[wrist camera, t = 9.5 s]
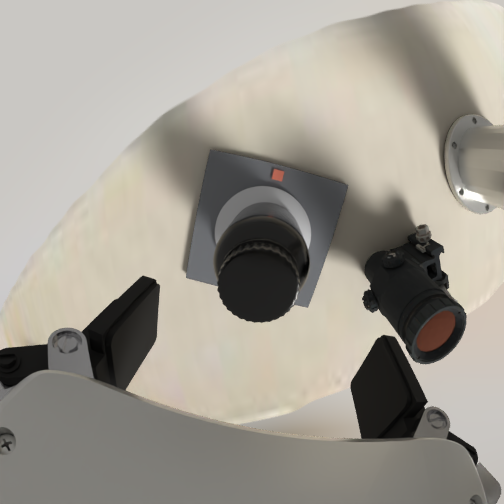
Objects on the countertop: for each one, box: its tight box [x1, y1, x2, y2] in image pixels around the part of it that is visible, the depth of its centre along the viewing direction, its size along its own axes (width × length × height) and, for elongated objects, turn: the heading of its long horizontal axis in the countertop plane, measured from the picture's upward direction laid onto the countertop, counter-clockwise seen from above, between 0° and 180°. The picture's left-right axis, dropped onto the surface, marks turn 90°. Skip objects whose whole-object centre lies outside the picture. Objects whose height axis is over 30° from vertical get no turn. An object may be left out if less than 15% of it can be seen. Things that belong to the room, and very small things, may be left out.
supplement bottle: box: [213, 202, 310, 323], centre depth 21 cm, size 7×7×12 cm
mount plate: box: [186, 150, 348, 308], centre depth 27 cm, size 14×14×2 cm
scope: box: [362, 224, 466, 364], centre depth 22 cm, size 8×14×10 cm
